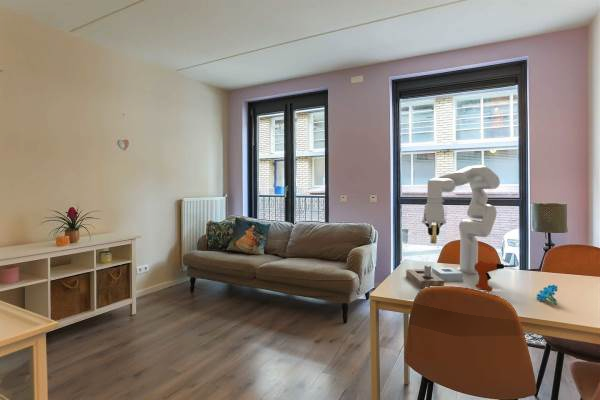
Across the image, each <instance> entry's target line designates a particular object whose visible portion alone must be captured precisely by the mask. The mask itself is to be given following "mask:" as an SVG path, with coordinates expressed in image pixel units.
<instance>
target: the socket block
mask: <svg viewBox="0 0 600 400" xmlns="http://www.w3.org/2000/svg"><path fill="white" fill-rule="evenodd" d="M431 272H432V273H433V274H435V275H436V276H438V277H439V278H441V279H442V280H444V282H445V281H447V282H449V281H450V282H451V281H452V282H453V281H454V282H455V281H456V282H457V281H458V282H459V281H463V280H464V279H463V276H464V274H463V273H464V272H463V271H459V270H458V269H457V268H454V267H453V266H451V267H431Z"/></svg>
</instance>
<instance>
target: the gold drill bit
mask: <svg viewBox="0 0 600 400" xmlns="http://www.w3.org/2000/svg"><path fill="white" fill-rule="evenodd" d="M431 228H432V235H429V236H430V244H435V245H436V244H437V242H438V241H437V238H438V237H437V236H438V235H437V225H436V224H431Z"/></svg>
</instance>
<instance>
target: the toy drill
mask: <svg viewBox="0 0 600 400" xmlns="http://www.w3.org/2000/svg"><path fill="white" fill-rule="evenodd" d="M474 268H475V270H476V271H477V272H478V283H476V284H475V288H476V289H477V290H479V291H483V292H484V291H485V290H486V291H487V292H492V291H493V287H492V286H490V285H489V280H491V279H492V277H491V276H490V273H489V272H494V271H497V270H501V269H502V270H504V269H505V268H516V265H515V264H509V265H508V264H507V265H506V264H505V265H504V264H503V263H497V262H492V261H489V262H488V261H483V260H479V261H478V263H476V264H475V266H474ZM486 291H485V292H486Z"/></svg>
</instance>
